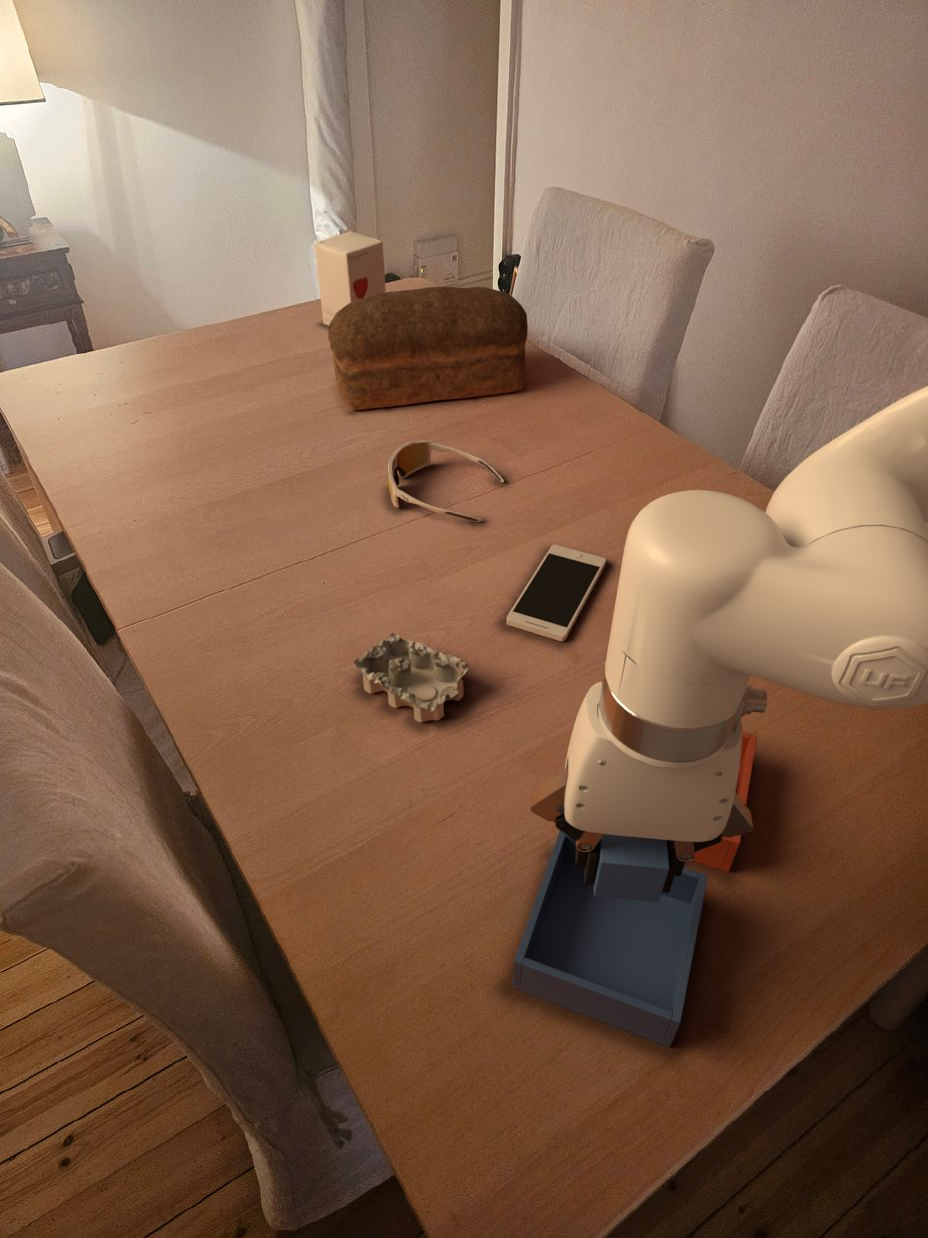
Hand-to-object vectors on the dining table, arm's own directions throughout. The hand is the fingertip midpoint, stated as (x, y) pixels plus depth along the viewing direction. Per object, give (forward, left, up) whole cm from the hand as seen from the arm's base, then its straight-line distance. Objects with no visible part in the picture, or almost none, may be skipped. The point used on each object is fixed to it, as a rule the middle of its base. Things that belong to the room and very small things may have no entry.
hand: (625, 869), depth 58 cm
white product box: (+74, -102, -11) cm, 126 cm away
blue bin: (0, 0, -11) cm, 11 cm away
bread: (+51, -84, -11) cm, 99 cm away
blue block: (0, 0, 0) cm, 0 cm away
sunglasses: (+37, -55, -11) cm, 67 cm away
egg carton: (+26, -20, -11) cm, 35 cm away
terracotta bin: (-2, -16, -11) cm, 19 cm away
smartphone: (+16, -40, -11) cm, 44 cm away
